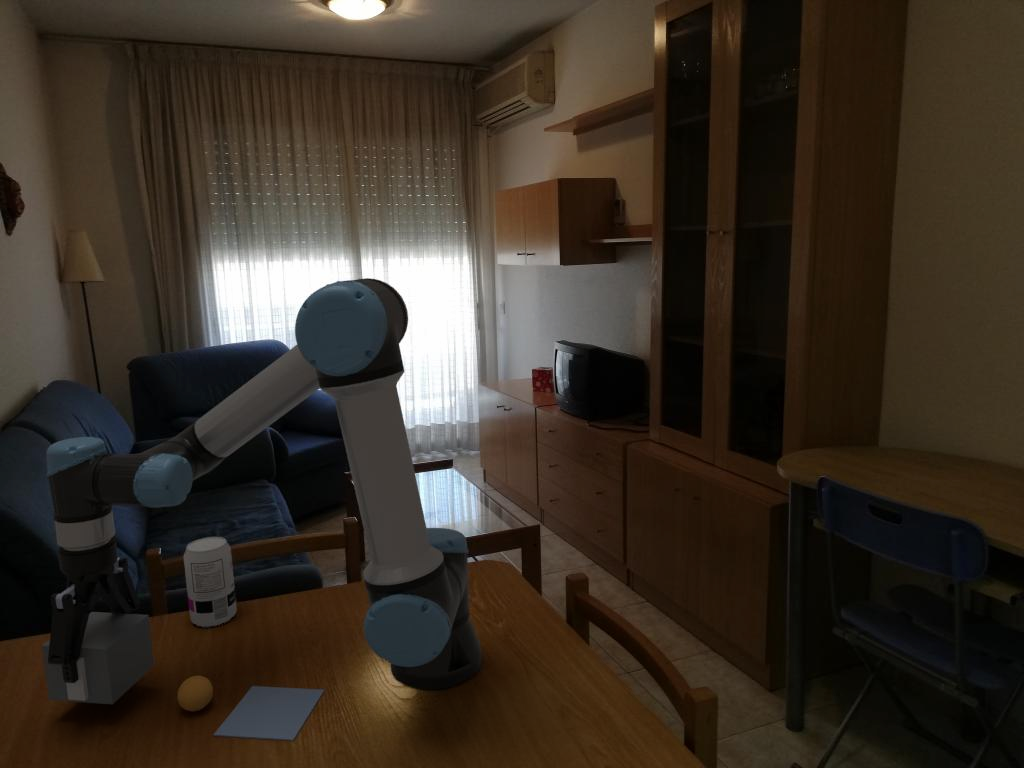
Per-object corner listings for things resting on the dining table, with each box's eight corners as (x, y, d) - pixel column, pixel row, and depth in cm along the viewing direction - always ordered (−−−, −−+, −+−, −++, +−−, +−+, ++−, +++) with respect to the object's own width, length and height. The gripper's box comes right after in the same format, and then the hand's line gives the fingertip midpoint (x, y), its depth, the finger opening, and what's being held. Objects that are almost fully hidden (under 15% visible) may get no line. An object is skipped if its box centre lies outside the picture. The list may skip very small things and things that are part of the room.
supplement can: (181, 624, 138) (172, 548, 135) (215, 604, 145) (208, 533, 142) (212, 632, 134) (204, 555, 132) (246, 612, 142) (239, 539, 139)
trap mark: (324, 690, 116) (324, 689, 116) (293, 740, 104) (293, 739, 104) (252, 687, 117) (252, 686, 117) (213, 736, 105) (213, 734, 105)
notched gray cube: (154, 665, 118) (148, 614, 116) (112, 704, 108) (106, 649, 106) (95, 662, 119) (89, 611, 117) (49, 699, 109) (41, 645, 107)
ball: (220, 699, 114) (217, 669, 113) (203, 719, 109) (200, 688, 108) (190, 697, 115) (187, 668, 114) (172, 717, 110) (168, 687, 109)
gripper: (113, 513, 121) (127, 637, 125) (2, 573, 98) (24, 722, 102) (155, 515, 120) (168, 640, 124) (54, 576, 97) (73, 726, 101)
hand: (103, 677), depth 113 cm, fingers closed on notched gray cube, 10 cm apart
